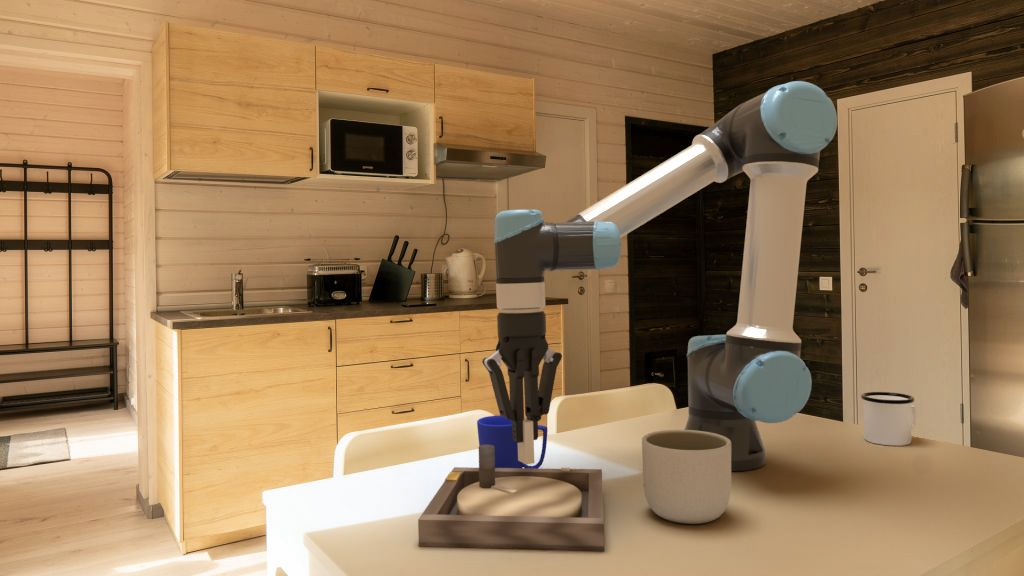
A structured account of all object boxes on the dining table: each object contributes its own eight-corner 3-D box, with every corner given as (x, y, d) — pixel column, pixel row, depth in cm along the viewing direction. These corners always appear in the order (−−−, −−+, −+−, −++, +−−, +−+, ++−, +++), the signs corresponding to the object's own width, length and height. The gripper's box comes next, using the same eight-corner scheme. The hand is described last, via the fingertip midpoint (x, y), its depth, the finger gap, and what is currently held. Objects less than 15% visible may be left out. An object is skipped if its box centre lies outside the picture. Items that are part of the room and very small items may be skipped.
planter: (717, 537, 94) (717, 455, 93) (629, 520, 100) (628, 444, 100) (741, 508, 104) (741, 435, 104) (660, 495, 111) (659, 426, 110)
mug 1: (544, 487, 116) (543, 426, 116) (472, 484, 118) (471, 424, 118) (551, 472, 124) (550, 416, 124) (484, 470, 126) (483, 414, 126)
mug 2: (888, 449, 135) (888, 402, 135) (850, 438, 144) (850, 393, 144) (935, 442, 139) (935, 397, 139) (895, 432, 148) (895, 389, 148)
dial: (606, 507, 104) (605, 450, 103) (525, 545, 90) (524, 479, 90) (515, 484, 116) (514, 433, 115) (431, 514, 102) (430, 456, 102)
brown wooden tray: (602, 490, 114) (601, 467, 113) (604, 551, 90) (603, 521, 90) (454, 488, 116) (454, 465, 116) (418, 546, 92) (418, 517, 92)
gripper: (546, 307, 116) (551, 450, 117) (472, 311, 110) (478, 462, 111) (569, 309, 109) (574, 461, 110) (492, 314, 103) (498, 474, 104)
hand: (526, 461), depth 110 cm, fingers closed
